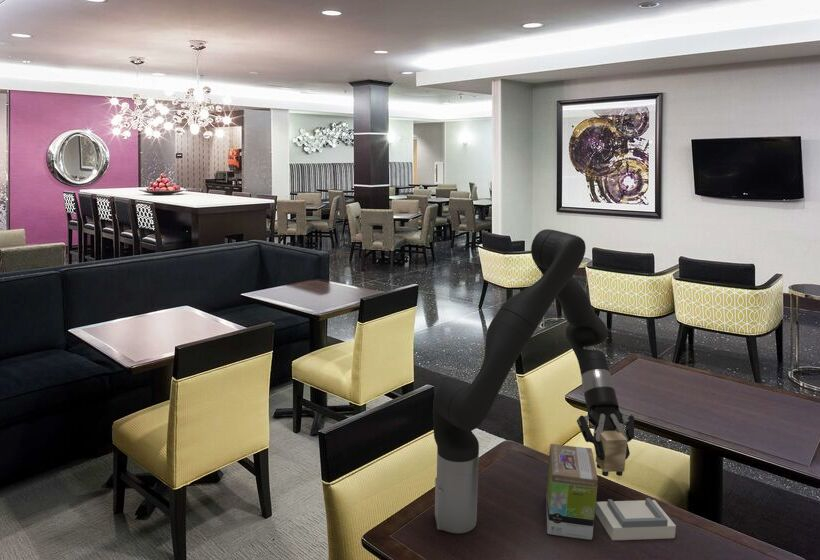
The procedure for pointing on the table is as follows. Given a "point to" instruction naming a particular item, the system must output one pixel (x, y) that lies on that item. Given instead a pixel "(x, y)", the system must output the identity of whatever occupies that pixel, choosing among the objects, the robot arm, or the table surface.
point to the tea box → (571, 491)
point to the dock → (635, 520)
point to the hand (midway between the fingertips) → (614, 458)
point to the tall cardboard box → (612, 453)
